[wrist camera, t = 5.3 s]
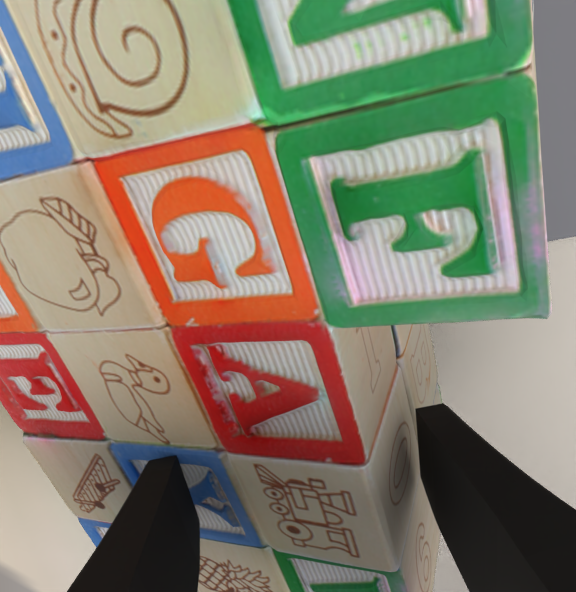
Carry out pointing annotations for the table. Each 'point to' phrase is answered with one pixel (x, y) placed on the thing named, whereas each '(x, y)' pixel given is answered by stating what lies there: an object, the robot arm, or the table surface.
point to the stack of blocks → (261, 259)
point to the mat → (557, 111)
